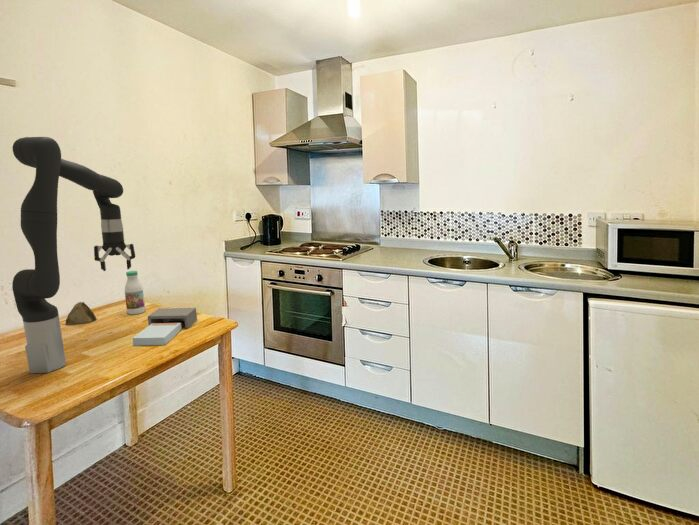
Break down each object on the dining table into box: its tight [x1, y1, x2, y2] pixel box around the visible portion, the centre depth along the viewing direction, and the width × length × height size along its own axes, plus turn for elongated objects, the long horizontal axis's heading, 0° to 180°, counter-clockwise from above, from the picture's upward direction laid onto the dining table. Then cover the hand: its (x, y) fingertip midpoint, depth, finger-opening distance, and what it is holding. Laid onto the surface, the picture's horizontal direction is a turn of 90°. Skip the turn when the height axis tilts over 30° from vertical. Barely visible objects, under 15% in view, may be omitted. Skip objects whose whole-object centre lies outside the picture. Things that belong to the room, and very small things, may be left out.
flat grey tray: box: [131, 322, 182, 347], centre depth 156 cm, size 16×12×3 cm
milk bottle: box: [124, 270, 146, 315], centre depth 186 cm, size 8×8×20 cm
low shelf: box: [147, 307, 198, 329], centre depth 170 cm, size 11×16×6 cm, turn 92°
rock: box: [65, 301, 98, 325], centre depth 174 cm, size 11×9×10 cm
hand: (116, 269), depth 161 cm, fingers open, 8 cm apart
